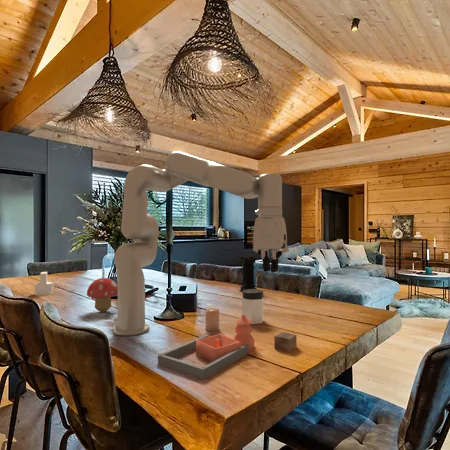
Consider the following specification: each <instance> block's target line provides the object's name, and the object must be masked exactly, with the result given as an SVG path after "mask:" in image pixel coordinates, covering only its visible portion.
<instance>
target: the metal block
mask: <svg viewBox="0 0 450 450" xmlns="http://www.w3.org/2000/svg"><path fill="white" fill-rule="evenodd" d="M273 337H274V339H273V340H274V346H273V347H274V350H279V351H284V352H287V353H291V352H292V351H294V349H296V348H297V334H295V333H290V332H285V331H281V332H279V333H277V334H276V335H274V336H273Z"/></svg>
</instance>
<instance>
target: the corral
mask: <svg viewBox="0 0 450 450" xmlns="http://www.w3.org/2000/svg"><path fill="white" fill-rule="evenodd" d="M207 337H210V334H204V335H203V336H200V337H198V338H195V339H193V340H192V339H191V341H187V342H185V343H183V344H181V345H179V346H176V347H174V348H171V349H169V350H166V351H164V352H162V353H159V354H157V365H159V366H161V367H165V368H168V369H171V370H173V371H176V372H180V373H181V374H186V375H188V376H191V377H194V378H197V379H199V380H202V381H203V380H206V379H208V378H209V377H211V376H213V375H214V374H216V373H218V372H220V371H221V370H223V369H225V368H227V367H228V366H230V365H231V364H233V363H235V362H236V361H238V360H240V359H242V358H243V357H245V356H247V355H249V354H250V350H249V344H245V345H243V346H241V347H239V348H237V349H236V350H234V351H232V352H230V353H228V354H226V355H225V356H223V357H221V358H219V359H217V360H215V361H213V362H210V363H208V364H206V365H204V366H201V365H197V364H194V363H190V362H187V361H185V360H181V359H178V358H179V357H181V356H184V355H185V354H188V353H190V352H192V351H196V340H199V339H203V338H207Z"/></svg>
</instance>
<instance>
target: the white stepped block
mask: <svg viewBox="0 0 450 450" xmlns="http://www.w3.org/2000/svg"><path fill="white" fill-rule="evenodd" d="M39 279H40V280H39V281H40V282H36V283H34V295H35V296H49V295H53V294H54V288H53V287H54V282H52V281H48V271H41V272H40V273H39Z"/></svg>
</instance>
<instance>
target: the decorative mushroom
mask: <svg viewBox="0 0 450 450" xmlns="http://www.w3.org/2000/svg"><path fill="white" fill-rule="evenodd" d="M86 296H87V297H88V298H92V299H94V309H95V310H97V311H99V312H100V313H105V312H107V311H108V310H110V309H111V307H112V298H113V297H116V296H118V288H117V282H115V281H114V280H113V279H111V278H108V277H100V278H97V279H95V280H94V281H92V282H91V283H90V284H89V286H88V287H87V291H86Z"/></svg>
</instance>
